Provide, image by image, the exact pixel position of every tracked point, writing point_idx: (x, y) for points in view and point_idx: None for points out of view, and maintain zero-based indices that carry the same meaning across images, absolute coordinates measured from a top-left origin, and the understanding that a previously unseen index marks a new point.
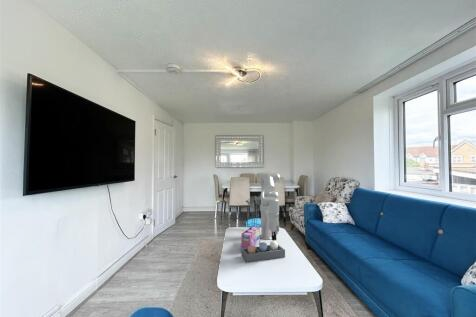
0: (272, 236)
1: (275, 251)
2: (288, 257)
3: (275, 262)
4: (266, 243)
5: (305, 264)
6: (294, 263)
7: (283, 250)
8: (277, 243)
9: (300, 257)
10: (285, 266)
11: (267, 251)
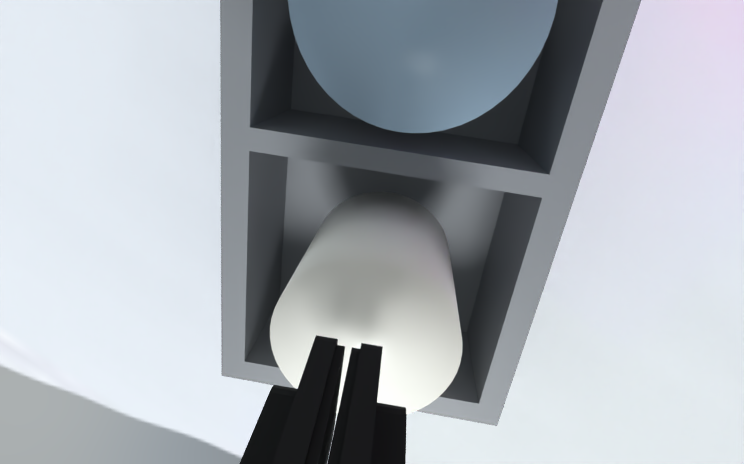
0: (284, 435)
1: (226, 207)
2: None
3: (156, 94)
4: (379, 123)
5: (39, 368)
6: (79, 292)
7: (226, 346)
8: (294, 376)
9: (204, 434)
10: (18, 147)
11: (252, 38)
